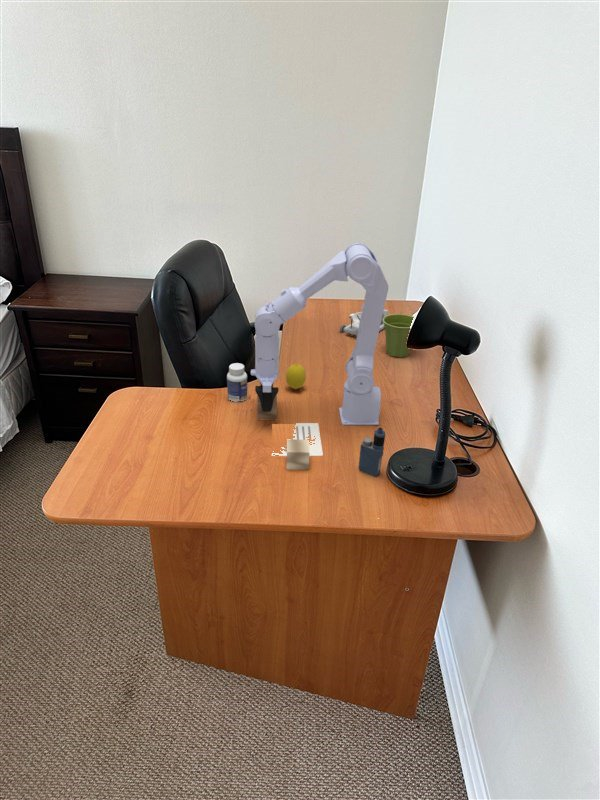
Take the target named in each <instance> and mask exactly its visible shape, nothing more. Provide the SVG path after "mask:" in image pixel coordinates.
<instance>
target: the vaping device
mask: <svg viewBox="0 0 600 800" xmlns="http://www.w3.org/2000/svg"><path fill="white" fill-rule="evenodd" d="M385 439H386V431H385V430H384V428H382V427H378V428H377V429H376V430H374V433H373V438H371V437H367V436H366V437H364V438H363V441H362V442H361V444H360V448H359V449H360V450H359V460H358V461H359V462H358V469H359V471H360V472H362V473H364V474H366V475H369V476H372V477H375V478H376V477H378V476H379V475H380V473H381V467H382V460H383V459H382V458H383V455H384V450H385V441H386V440H385Z"/></svg>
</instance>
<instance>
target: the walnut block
mask: <svg viewBox="0 0 600 800" xmlns="http://www.w3.org/2000/svg"><path fill="white" fill-rule="evenodd" d="M256 395H257V394H256ZM256 400H257V402H256V412H257V414H256V416H257V417H256V420H257V421H260V420H259V419H277V420H278V394H277V395H276V396H275V398H274V401H273V406H272V410H271V412H263V411H262V407H261V402H260V399H259V397H258V395H257V397H256Z"/></svg>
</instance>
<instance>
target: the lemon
mask: <svg viewBox="0 0 600 800" xmlns="http://www.w3.org/2000/svg"><path fill="white" fill-rule="evenodd" d="M306 376H307V374H306V371H305V368H304V367H303V366H302V365H300V364H298V363H294V364H291V365H289V367H288V368H287V370H286V373H285V379H286V383H287V385H288V387H290V388H292V389H294V390H298V389H299V388H302V387H303V386H304V385H305V382H306Z"/></svg>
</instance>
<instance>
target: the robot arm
mask: <svg viewBox="0 0 600 800" xmlns="http://www.w3.org/2000/svg"><path fill="white" fill-rule="evenodd" d="M348 277H349V278H350V279H351V280H352V281H354V282H356V283H357V284H359V285H361V286H362V287H363V289H364V290H365V295H364V298H363V299H364V300H363V309H362V308H361V310H362V314H361V319H360V324H359V329H358V334H357V335H356V338H355V344H354V348H353V349H352V351H351V356H350V358H349V359H348V360H347V361H346V362H345V363H346V364H345V368H344V369H345V372H346V376H347V379H346V380H345V382H344V383H343V394H342V396H343V397H342V406H341V407H338V411H339V417H340V422H341V425H342V426H371V425H372V426H377V425H379V424H380V421H379V420H380V411H381V403H382V392H381V389H380V386H377V385H376V386H375V380H374V375H373V373H374V356H375V355H374V354H375V351H376V346H377V342H378V337H379V332H380V331H379V329H380V324H381V320H382V315H383V311H384V309H385V305H386V302H387V296H388V292H389V284H388V281H387V279H386V276H385V274H384V273H383V270H382V268H381V266H380V264H379V262H378V259H377V257H376V255H375V253H374V252H373V251H372V250H371V249H370V248H369V247H368V246H367V245H366V244H364V243H361V242H355V243H353V244H350V245H349V246H348V247H347V248H346V249H345V250H341V251H340V252H338V253H337V254H336V255H335V256H333V258H331V259H330V260H329V261H328V262H327V263H325V264H324V265H323V266H322V267H321V268H320V269H319V270H317V271H316V272H315V273H314V274H312V276H311V277H309V278H308V279H306V280H305V281H304V282H303V283H302V284H301V285H299V287H298V286H290V287H289V288H287V289H286V287H285V288H283V289H282V290H280V295H278V296H277V297H276V298H275V299H273V300H272V301H271V302H269V301H268V302H266V303H265V305H264V306H261V307H260V308H258V309H257V311H256V314H255V316H254V317H255V318H254V328H255V329H254V330H255V337H254V338H255V339H254V344H255V345H254V346H255V349H254V353H255V355H254V356H255V357H254V358H255V360H254V361H255V362H254V363H255V365H254V367H255V368H254V369H250V375H251V376H255V377H256V378H257V379H256V380H258V381H259V384H260V385H255V390H254V391H255V394H256V395H258V397H259V399H260V402H261V407H262V411H263V412H271V410H272V406H273V401H274V398H275V396H276V395H277V396H278V393H279V387H274V383H275V382H276V380H277V379H278V377H279V376H280V370H279V367H280V366H279V364H280V363H279V361H280V360H279V359H280V356H279V355H280V337H279V330H280V328H281V325H283V324H285V323H286V322H287V321H289V320H290V319H291V318H293V317H294V316H296V315H297V314H298V313H300V312H301V311H302V310H304V309H305V308H306V306H307V300H308V299H309V298H311V297H312V296H314V295H315V294H317V293H318V292H320V291H321V290H323V289H324V288H325V287H327V286H329V285H330V284H331V283H333V282H334V281H339V282H349V279H348Z"/></svg>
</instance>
